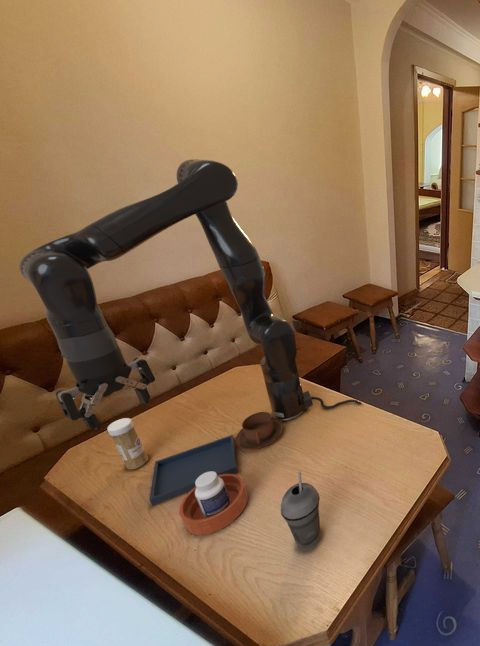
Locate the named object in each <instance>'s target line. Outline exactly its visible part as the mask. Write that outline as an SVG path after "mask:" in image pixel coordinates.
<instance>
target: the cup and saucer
mask: <svg viewBox="0 0 480 646" xmlns="http://www.w3.org/2000/svg"><path fill="white" fill-rule="evenodd" d="M241 426H242V428H241V429H240V430H239V432H238V433H237V435H236V437H235V443H236V444H237V446H238V447H240V448H241V449H242V450H258V449H261V448H264V447H266V446H267V447H268V446H269V445H270V444H272V443H273V442H275V441H276V440H277V439H278V438H279V437H280V436H281V434H282V433H283V430H284V423H283V421H280V420H279V419H276V418H273V415H272V414H271V413H269V412H267V411H260V412H254V413H253V414H250V415H249V416H247V417H246V418H245V419H244V420H243V421H242V422H241Z"/></svg>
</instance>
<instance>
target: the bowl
mask: <svg viewBox="0 0 480 646" xmlns="http://www.w3.org/2000/svg"><path fill="white" fill-rule="evenodd" d="M217 476H218V477H219V478H221V479H222V480H223V481H224V484H225V487H226V490H227V492H228V495H229V498H230V505H229V506H228V507H227V508H226V509H224V510H223V511H221V512H220V513H218V514H216V515H214V516H211V517H209V518H205V517H204V516H203V514H202V511H201V509H200V506H199V504H198V501H197V499H196V496H195V490H196V487H195V488H193V489H192V490H191V491H189V492H187V494H186V495H185V497H184V498H183V499H182V501H181V503H180V505H179V511H178V514H179V516H180V519H181V521H182V523H183V525H184V528H185V529H186V531H187V532H188V533H190V534H192V535H200V536H203V535H204V536H205V535H208V534H213V533H215V532H218V531H220V530H222V529H224V528H226V527H227V526H228V525H230V524H231V523H232V522H234V521H235V520H236V519H237V518H238V517H239V516H240V515H241V514H242V512H243V511H244V509H245V508H246V506H247V502H248V499H249V496H248V495H249V494H248V491H247V488H246V485H245V481H244V479H243V478H242V477H241V476H239V475H237V474H236V473H234V474H222V475H217Z"/></svg>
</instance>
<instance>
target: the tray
mask: <svg viewBox="0 0 480 646" xmlns="http://www.w3.org/2000/svg"><path fill="white" fill-rule="evenodd" d="M235 443H236V442H235V439H234V435H233V434H231V435H227V436H225V437H222V438H219V439H216V440H213V441H210V442H207V443H205V444H201V445H199V446H196V447H193V448H190V449H188V450H185V451H182V452H179V453H175V454H172V455H170V456H167V457H164V458H161V459H158V460H156V461H154V467H153V473H152V482H151V488H150V493H149V494H150V495H149V502H150V504H151V506H152V507H154V506H156V505H159V504H161V503H165V502H166V501H168V500H171V499H174V498H176V497H179V496H181V495H184V494H186V493H189V492H190V491H191V490H192V489H193V488H195V487H196V485H195V481H196V479H197V478H198V477H199V476H200V475H202V474H204V473H206V472H209V471H214V472H216V474H217V475H222V474H237V473H238V471H239V470H238V462H237V454H236V444H235Z"/></svg>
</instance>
